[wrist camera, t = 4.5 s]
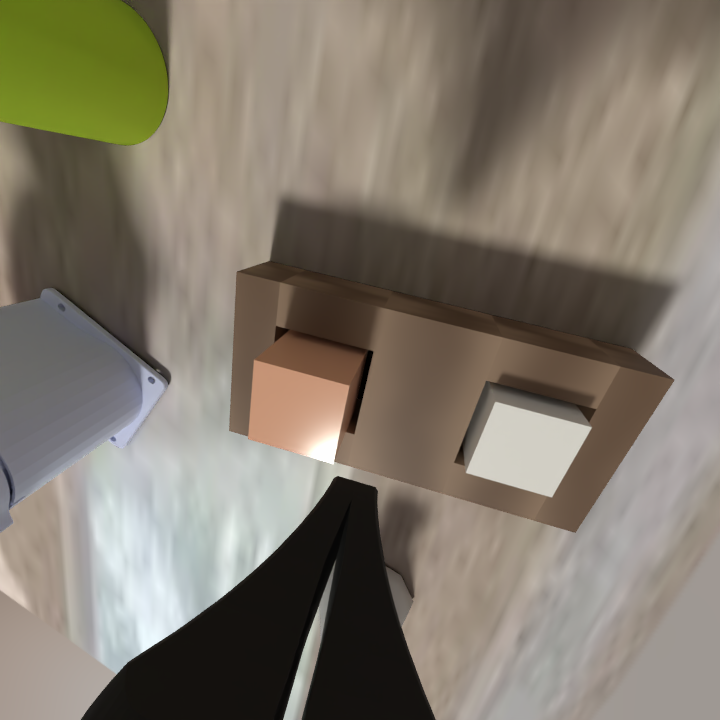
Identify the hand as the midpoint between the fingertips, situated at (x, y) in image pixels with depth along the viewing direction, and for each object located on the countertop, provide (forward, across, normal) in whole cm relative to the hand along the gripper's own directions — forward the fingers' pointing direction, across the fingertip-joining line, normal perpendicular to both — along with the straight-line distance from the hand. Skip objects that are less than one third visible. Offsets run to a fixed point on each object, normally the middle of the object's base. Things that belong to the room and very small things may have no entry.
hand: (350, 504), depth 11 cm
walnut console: (+10, -2, 0) cm, 10 cm away
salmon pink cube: (+8, +3, 0) cm, 9 cm away
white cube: (+10, -7, 0) cm, 12 cm away
